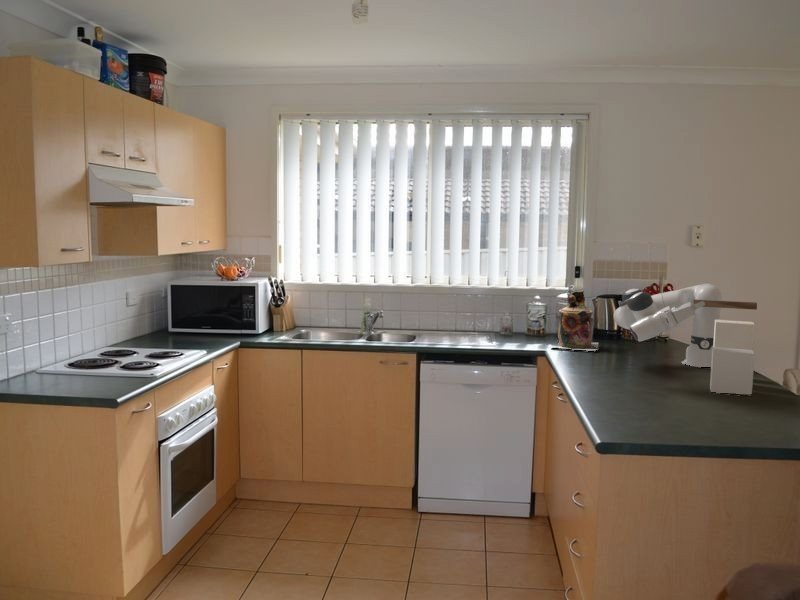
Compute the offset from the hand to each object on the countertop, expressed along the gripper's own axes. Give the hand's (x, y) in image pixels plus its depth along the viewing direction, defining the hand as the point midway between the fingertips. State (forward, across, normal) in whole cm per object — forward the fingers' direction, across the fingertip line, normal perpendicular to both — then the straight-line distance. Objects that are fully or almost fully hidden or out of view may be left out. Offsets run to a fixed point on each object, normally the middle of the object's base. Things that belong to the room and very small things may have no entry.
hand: (704, 302), depth 256 cm
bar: (+5, 0, -5) cm, 7 cm away
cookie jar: (-69, -78, -1) cm, 104 cm away
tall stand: (-7, -16, -36) cm, 40 cm away
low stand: (-8, 0, -36) cm, 37 cm away
